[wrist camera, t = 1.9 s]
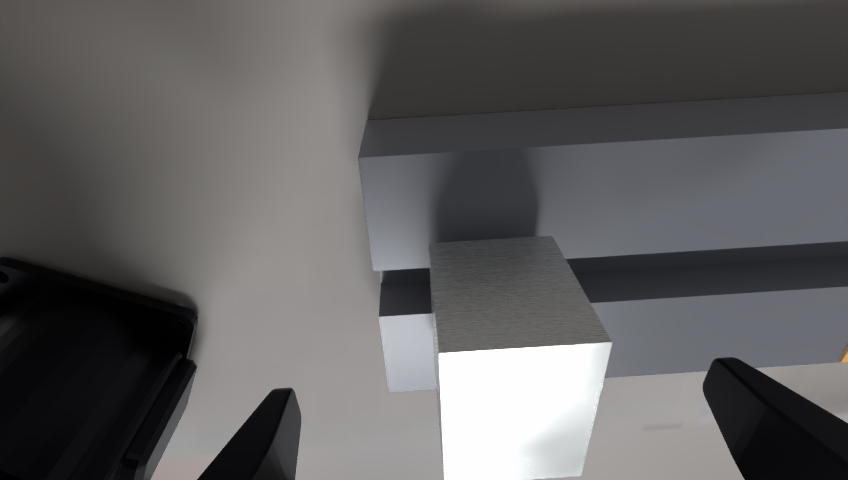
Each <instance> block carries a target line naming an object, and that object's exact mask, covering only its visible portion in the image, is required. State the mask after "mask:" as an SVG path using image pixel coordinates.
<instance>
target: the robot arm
mask: <svg viewBox="0 0 848 480" xmlns="http://www.w3.org/2000/svg"><path fill="white" fill-rule="evenodd" d="M178 320H181V321H183V322H184V323H182V322H180V321H178ZM197 324H198V317H197V315H196V314H195V313H194V312H193V311H192V310H190V309H188V308H185V307H181V306H178V305H174V304H171V303H167V302H164V301H160V300H157V299H153V298H149V297H146V296H142V295H139V294H135V293H132V292H128V291H125V290H121V289H118V288H114V287H110V286H107V285H103V284H100V283H96V282H93V281H89V280H86V279H82V278H79V277H75V276H71V275H68V274H64V273H61V272H57V271H54V270H50V269H47V268H43V267H40V266H36V265H32V264H29V263H25V262H22V261H18V260H15V259H11V258H6V257H0V480H150V479H151V477H152V475H153V473H154V471H155V469H156V467H157V465H158V463H159V461H160V459H161V457H162V455H163V453H164V451H165V449H166V447H167V445H168V443H169V441H170V439H171V437H172V435H173V433H174V431H175V429H176V427H177V425H178V423H179V420H180V418H181V416H182V414H183V412H184V410H185V408H186V406H187V403H188V399H189V395H190V392H191V388H192V384H193V381H194V377H195V373H196V369H197V366H196V364H195V362H194V360H191V359H189V356H190V352H191V348H192V344H193V340H194V336H195V332H196V328H197ZM703 392H704V396H705V398H706V400H707V402H708V405H709V407H710V409H711V411H712V413H713V415H714V418H715V420H716V422H717V424H718V426H719V429H720V431H721V433H722V435H723V437H724V440H725V442H726V444H727V446H728V448H729V450H730V453H731V455H732V457H733V459H734V461H735V463H736V465H737V466H738V468H739V470H740V472H741V474H742V476H743V477H744V479H745V480H848V423H846V422H845V421H843V420H841V419H840V418H838V417H836V416H835V415H833V414H831V413H829V412H828V411H826V410H824V409H823V408H821V407H819V406H818V405H816V404H814V403H813V402H811V401H809V400H807V399H806V398H804V397H802V396H801V395H799V394H797V393H796V392H794V391H792V390H791V389H789V388H787V387H785V386H784V385H782V384H780V383H779V382H777V381H775V380H774V379H772V378H770V377H769V376H767V375H765V374H763V373H762V372H760V371H758V370H757V369H755V368H753V367H752V366H750V365H748V364H747V363H745V362H743V361H741V360H740V359H738V358H735V357H724V358H716V359H714V360H713V361H712V363H711V365H710V367H709V370H708V372H707V375H706V377H705V380H704V382H703ZM300 429H301V412H300V409H299V405H298V402H297V398H296V395H295V392H294V390H293V389H292V388H278V389H274V390H272V391H271V392H270V393H269V394H268V395H267V397H266V398H265V399H264V400H263V401H262V403H261V404H260V405H259V406H258V407H257V409H256V410H255V411H254V412H253V413H252V415H251V416H250V417H249V418H248V419H247V421H246V422H245V423H244V424H243V425H242V427H241V428H240V429H239V430H238V431H237V433H236V434H235V435H234V436H233V437H232V439H231V440H230V441H229V442H228V443H227V445H226V446H225V447H224V448H223V449H222V451H221V452H220V453H219V454H218V455H217V457H216V458H215V459H214V460H213V461H212V463H211V464H210V465H209V466H208V467H207V469H206V470H205V471H204V472H203V473H202V475H201V476H200V477H199V478H198V479H197V480H295V473H296V464H297V456H298V447H299V438H300Z"/></svg>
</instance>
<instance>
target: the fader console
mask: <svg viewBox="0 0 848 480" xmlns="http://www.w3.org/2000/svg"><path fill="white" fill-rule="evenodd" d="M358 161H359V168H360V176H361V184H362V191H363V199H364V207H365V214H366V222H367V229H368V237H369V245H370V252H371V260H372V267H373V271H379V272H380V280H381V294H380V309H379V321H380V328H381V336H382V343H383V351H384V359H385V366H386V374H387V382H388V389H389V392H400V391H415V390H430V389H436V377H435V365H434V347H433V327H432V307H431V287H430V267H429V247H428V243H443V242H459V241H475V240H491V239H507V238H523V237H539V236H553V238H554V240H555V241H556V243H557V245H558V247H559V248H560V250H561V252H562V254H563V255H564V257H565V259H566V261H567V263H568V264H569V266H570V268H571V270H572V271H573V273H574V275H575V277H576V278H577V280H578V282H579V284H580V286H581V287H582V289H583V291H584V293H585V294H586V296H587V298H588V300H589V301H590V303H591V305H592V307H593V309H594V310H595V312H596V314H597V316H598V317H599V319H600V321H601V323H602V324H603V326H604V328H605V330H606V332H607V333H608V335H609V337H610V339H611V340H612V346H611V351H610V355H609V359H608V363H607V368H606V372H605V376H604V378H610V377H625V376H640V375H655V374H670V373H685V372H700V371H708V370H709V367H710V365H711V363H712V361H713V360H714V359H716V358H724V357H735V358H738V359H740V360H741V361H743V362H745V363H747V364H748V365H750V366H752V367H753V368H760V367H775V366H790V365H805V364H820V363H835V362H848V92H833V93H816V94H799V95H783V96H766V97H749V98H732V99H716V100H699V101H682V102H665V103H649V104H632V105H615V106H598V107H582V108H565V109H548V110H531V111H515V112H498V113H481V114H464V115H447V116H431V117H414V118H397V119H380V120H367V122H366V126H365V131H364V135H363V139H362V143H361V148H360V152H359V156H358Z"/></svg>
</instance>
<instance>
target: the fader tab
mask: <svg viewBox="0 0 848 480" xmlns="http://www.w3.org/2000/svg"><path fill="white" fill-rule="evenodd" d="M428 247H429V267H430V287H431V307H432V327H433V347H434V365H435V377H436V389H437V401H438V413H439V425H440V437H441V450H442V462H443V474H444V480H530V479H544V478H560V477H574V476H581V474H582V470H583V465H584V461H585V456H586V453H587V448H588V444H589V440H590V435H591V431H592V427H593V423H594V419H595V414H596V410H597V406H598V402H599V397H600V393H601V389H602V385H603V380H604V376H605V372H606V368H607V363H608V359H609V355H610V351H611V346H612V340H611V339H610V337H609V335H608V333H607V332H606V330H605V328H604V326H603V324H602V323H601V321H600V319H599V317H598V316H597V314H596V312H595V310H594V309H593V307H592V305H591V303H590V301H589V300H588V298H587V296H586V294H585V293H584V291H583V289H582V287H581V286H580V284H579V282H578V280H577V278H576V277H575V275H574V273H573V271H572V270H571V268H570V266H569V264H568V263H567V261H566V259H565V257H564V255H563V254H562V252H561V250H560V248H559V247H558V245H557V243H556V241H555V240H554V238H553V236H539V237H523V238H507V239H491V240H475V241H459V242H443V243H428Z"/></svg>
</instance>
